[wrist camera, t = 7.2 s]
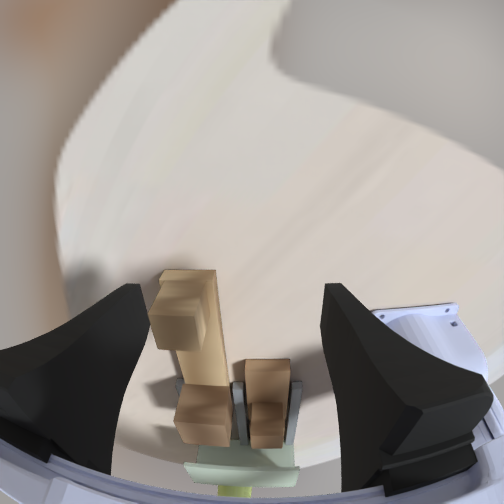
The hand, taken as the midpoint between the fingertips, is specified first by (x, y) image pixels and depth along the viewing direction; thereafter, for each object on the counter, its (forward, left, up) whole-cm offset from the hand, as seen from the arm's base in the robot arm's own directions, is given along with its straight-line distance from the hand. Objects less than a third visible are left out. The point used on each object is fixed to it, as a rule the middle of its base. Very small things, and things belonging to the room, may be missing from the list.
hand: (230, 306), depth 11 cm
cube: (+4, +18, -8) cm, 20 cm away
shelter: (+1, +28, -10) cm, 30 cm away
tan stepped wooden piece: (+4, +12, -10) cm, 16 cm away
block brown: (-1, +18, -10) cm, 20 cm away
